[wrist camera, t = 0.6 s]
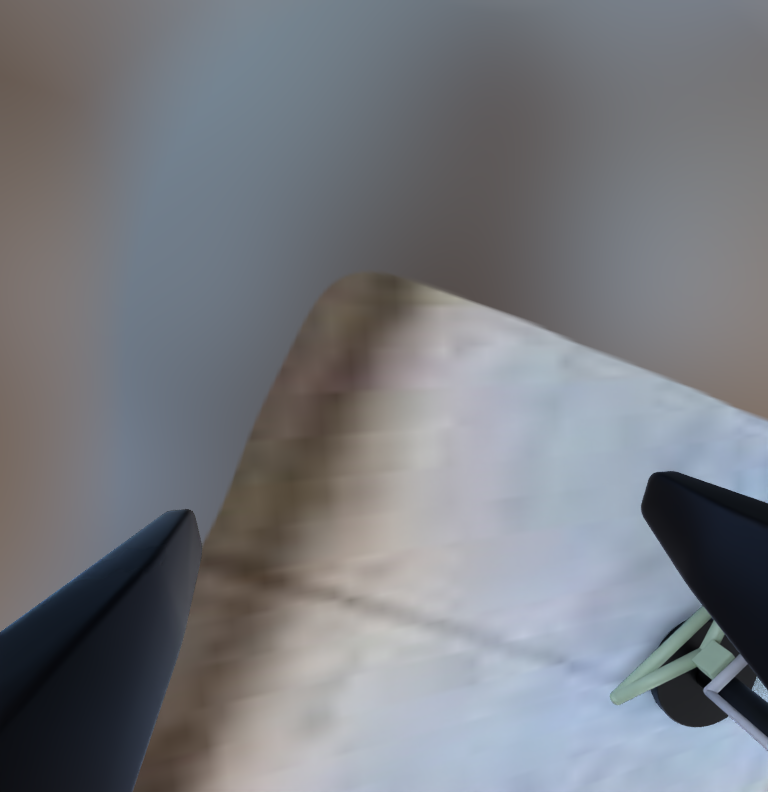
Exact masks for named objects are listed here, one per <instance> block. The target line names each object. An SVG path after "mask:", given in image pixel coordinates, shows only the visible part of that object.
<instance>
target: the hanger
mask: <svg viewBox="0 0 768 792" xmlns="http://www.w3.org/2000/svg"><path fill="white" fill-rule="evenodd" d="M711 618H712V617H711V616H710V614H709V613H708V612H707V610H706V609H705V608H704V607H703V606H702V607H701V608H699V609H698V610H697V611H696V612H695V613H694V614H693V615H692V616H691V617H690V618H689V619H688V620H687V621H686V622H685V623H684V624H683V625H682V626H681V627H679V628H678V629H677V630H676V631H675V632H674V633H673V634H672V635H671V636H670V637H669V638H668V639H667V640H666V641H665V642H664V643H663V644H662V645H661V646H660V647H658V648H657V649H656V650H655V651H654V652H653V653H652V654H651V655H650V656H649V657H648V658H647V659H646V660H645V661H644V662H643V663H642V664H641V665H640V666H639V667H637V668H636V669H635V670H634V671H633V672H632V673H631V674H630V675H629V676H628V677H627V678H626V679H625V680H624V681H623V682H622V683H621V684H620V685H619V686H618V687H616V688H615V689H614V690H613V691H612V692H611V693H610V700H611V701H612V703H614V704H615V705H621V704H623V703H625V702H627V701H629V700H631V699H633V698H635V697H637V696H639V695H641V694H643V693H645V692H647V691H649V690H651V689H653V688H655V687H657V686H659V685H661V684H663V683H665V682H667V681H669V680H671V679H673V678H675V677H677V676H679V675H681V674H683V673H685V672H687V671H690V670H692V669H694V668H696V667H698V668H699V669H700V670H701V671H702V672H703V673H705V674H706V675H707V676H708V677H709V678H710V679H712V681H711V682H710V683H709V684H708V685H707V686H706V687H705V688H704V690H703V691H704V694H705V695H706V696H707V697H708V698H709V699H711V700H712V701H713V702H714V703H715V704H716V705H717V706H718V707H719V708H721V709H722V710H723V711H724V712H725V713H726V714H727V715H728V716H729V717H731V718H732V719H733V720H734V721H735V722H736V723H737V724H738V725H739V726H741V727H742V728H743V729H744V730H745V731H746V732H747V733H748V734H749V735H751V736H752V737H753V738H754V739H755V740H756V741H757V742H758V743H759V744H761V745H762V746H763V747H764V748H765V749H766V750H767V751H768V737H767V736H766V735H765V734H763V733H762V732H761V731H760V730H759V729H758V728H757V727H755V726H754V725H753V724H752V723H751V722H750V721H748V720H747V719H746V718H745V717H744V716H743V715H742V714H740V713H739V712H738V711H737V710H736V709H735V708H733V707H732V706H731V705H730V704H729V703H728V702H727V701H725V700H724V699H723V698H722V697H721V696H720V695H718V694H717V693H718V692H719V691H720V690H721V689H722V688H723V687H725V686H726V685H727V684H728V683H729V682H730V681H731V680H732V679H733V678H734V677H735V676H736V675H737V674H738V673H739V672H740V671H741V670H742V669H743V668H744V667H745V666H746V665H747V662H746V661H745V660H744V658H743V657H742V656H741V655H740V654H739V655H738V656H737V657H736V658H735V657H734V655H733V654H732V653H731V652H730V651H728V650H727V649H725V648H724V647H723V646H721V645H720V643H721V641H722V639H723V637H724V635H725V634H724V632H723V631H722V630H721V629H720V627H719V626H718V625H717V623H716V622H715V621H713V623H712V625H711V627H710V629H709V630H708V632H707V634H706V636H705V638H704V640H703V642H702V644H701V646H700V648H698V649H696V650H694V651H692V652H690V653H688V654H686V655H684V656H682V657H680V658H678V659H676V660H674V661H672V662H670V663H668V664H666V665H664V666H663V667H661V668H659V667H660V666H661V665H663V664H664V663H665V662H666V661H667V660H668V659H669V658H670V657H671V656H672V655H673V654H674V653H675V652H676V651H677V650H678V649H679V648H680V647H681V646H682V645H683V644H685V643H686V642H687V641H688V640H689V639H690V638H691V637H692V636H693V635H694V634H695V633H696V632H697V631H698V630H699V629H700V628H701V627H702V626H703V625H704V624H705V623H706V622H708V621H709V620H710V619H711ZM658 668H659V669H658Z"/></svg>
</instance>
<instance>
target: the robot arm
mask: <svg viewBox="0 0 768 792" xmlns="http://www.w3.org/2000/svg"><path fill="white" fill-rule="evenodd" d="M641 511H642V515H643V517H644V519H645V520H646V522H647V524H648V525H649V527H650V528H651V530H652V531H653V533H654V534H655V536H656V538H657V539H658V541H659V542H660V544H661V545H662V547H663V548H664V550H665V551H666V553H667V555H668V556H669V558H670V559H671V561H672V562H673V564H674V565H675V567H676V569H677V570H678V572H679V573H680V575H681V576H682V578H683V579H684V581H685V582H686V584H687V585H688V587H689V588H690V589H691V591H692V592H693V593H694V595H695V596H696V597H697V599H698V600H699V601H700V603H701V604H702V605H703V607H704V608H705V609H706V610H707V612H708V613H709V614H710V616H711V617H712V618H713V620H714V621H715V622H716V623H717V625H718V626H719V627H720V629H721V630H722V631H723V632H724V634H725V635H726V636H727V638H728V639H729V640H730V642H731V643H732V644H733V645H734V647H735V648H736V649H737V651H738V652H739V653H740V655H741V656H742V657H743V658H744V660H745V661H746V662H747V664H748V665H749V666H750V668H751V669H752V670H753V671H754V673H755V674H756V675H757V677H758V678H759V679H760V681H761V682H762V683H763V684H764V686H765V687H766V688H767V690H768V503H765V502H762V501H759V500H757V499H754V498H751V497H748V496H745V495H742V494H739V493H736V492H733V491H731V490H728V489H725V488H722V487H719V486H716V485H713V484H710V483H707V482H705V481H702V480H699V479H696V478H693V477H690V476H687V475H684V474H682V473H679V472H675V471H666V472H656V473H653V474H652V475H651V476H650V478H649V480H648V483H647V487H646V490H645V493H644V497H643V500H642V504H641ZM201 557H202V544H201V539H200V535H199V531H198V526H197V523H196V518H195V515H194V513H193V511H191V510H189V509H185V510H173V511H167V512H166V513H164V514H163V515H161V516H160V517H158V518H157V519H156V520H154V521H153V522H152V523H150V524H149V525H147V526H146V527H145V528H144V529H142V530H140V531H139V532H138V533H136V534H135V535H134V536H132V537H131V538H129V539H128V540H127V541H125V542H124V543H123V544H121V545H120V546H118V547H117V548H116V549H114V550H113V551H111V552H110V553H109V554H107V555H106V556H105V557H103V558H102V559H100V560H99V561H98V562H97V563H95V564H94V565H92V566H91V567H89V568H88V569H87V570H85V571H84V572H83V573H81V574H80V575H78V576H77V577H76V578H74V579H73V580H71V581H70V582H69V583H67V584H66V585H65V586H63V587H62V588H61V589H59V590H58V591H56V592H55V593H54V594H52V595H51V596H49V597H48V598H47V599H45V600H44V601H42V602H41V603H40V604H38V605H37V606H36V607H34V608H33V609H31V610H30V611H29V612H27V613H26V614H24V615H23V616H22V617H20V618H19V619H18V620H16V621H15V622H13V623H12V624H11V625H9V626H8V627H7V628H5V629H4V630H2V631H1V632H0V792H133V789H134V786H135V783H136V780H137V777H138V774H139V771H140V768H141V765H142V762H143V759H144V756H145V753H146V750H147V747H148V744H149V741H150V738H151V735H152V732H153V729H154V726H155V723H156V720H157V717H158V714H159V711H160V708H161V705H162V702H163V699H164V696H165V694H166V691H167V688H168V685H169V682H170V679H171V676H172V673H173V670H174V667H175V664H176V661H177V658H178V655H179V651H180V648H181V645H182V642H183V638H184V633H185V629H186V625H187V621H188V616H189V612H190V607H191V603H192V598H193V593H194V589H195V584H196V580H197V575H198V571H199V566H200V562H201Z"/></svg>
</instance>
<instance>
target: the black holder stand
mask: <svg viewBox="0 0 768 792" xmlns="http://www.w3.org/2000/svg"><path fill="white" fill-rule="evenodd" d="M686 621H687V620H686ZM686 621H684V622H683V623H681V624H680V625H678V626H677V627H675V628H674V629H673V630H672V631H671V632H670V633H669V634H668V635H667V636H666V637H665V638H664V640H663V641H662V642H661V644H660V646H661V645H662V644H663V643H664V642H665V641H666V640H667V639H668V638H669V637H670V636H671V635H672V634H673V633H674V632H675V631H676V630H677V629H678V628H679V627H681V626H682V625H683V624H684V623H685V622H686ZM713 621H714V620H713V618H711V619H710V620H709V621H708V622H706V623H705V624H704V625H703V626H702V627H701V628H700V629H699V630H698V631H697V632H696V633H695V634H694V635H693V636H692V637H691V638H690V639H689V640H688V641H687V642H686V643H685V644H683V645H682V646H681V647H680V648H679V649H678V650H677V651H676V652H675V653H674V654H673V655H672V656H671V657H670V658H669V659H668V660H667V661H666V662H665V663H664V664H663V665H661V666H660V667H659V668H661V667H663V666H664V665H666V664H668V663H670V662H672V661H674V660H676V659H678V658H680V657H682V656H684V655H686V654H688V653H690V652H692V651H694V650H696V649H698V648H700V646H701V644H702V642H703V640H704V638H705V636H706V634H707V632H708V630H709V629H710V627H711V625H712V623H713ZM720 645H721V646H723V647H724V648H725V649H727V650H728V651H730V652H731V653H732V654H733V655H734V657H735V658H736V657H737V656H738V655H739V654H740V653H739V652H738V651H737V649H736V648H735V647H734V645H733V644H732V643H731V642H730V640H729V639H728V638H727V636H726V635H724V637H723V639H722V641H721V643H720ZM660 646H659V647H660ZM659 668H658V669H659ZM756 676H757V675H756V674H755V673H754V671H753V670H752V669H751V668H750V666H749V665H748V664H747V665H746V666H745V667H744V668H743V669H742V670H741V671H740V672H739V673H738V674H737V675H736V676H735V677H734V678H733V679H732V680H731V681H730V682H729V683H728V684H727V685H726V686H725V687H723V688H722V689H721V690H720V691H719V692H718V693H717V694H718V695H720V696H721V697H722V698H723V699H724V700H725V701H727V702H728V703H729V704H730V705H731V706H732V707H733V708H735V709H736V710H737V711H738V712H739V713H740V714H742V715H743V716H744V717H745V718H746V719H747V720H748V721H750V722H751V723H752V724H753V725H754V726H755V727H757V728H758V729H759V730H760V731H761V732H762V733H763V734H765V735H766V736H767V737H768V702H766V701H765V700H764V699H763V698H761V697H760V696H759V695H757V694H756V693H755V692H754V691H752V690H751V689H752V687H753V685H754V682H755V680H756ZM711 681H712V679H710V678H709V677H708V676H707V675H706V674H705V673H703V672H702V671H701V670H700V669H699V668H698V667H696V668H694V669H692V670H690V671H687V672H685V673H683V674H681V675H679V676H677V677H675V678H673V679H671V680H669V681H667V682H665V683H663V684H661V685H659V686H657V687H655V688H653V689H651V691H652V694H653V697H654V699H655V701H656V703H657V704H658V705H659V707H660V708H661V709H662V710H663V711H664V712H665V713H666V714H667V715H668V716H669V717H670V718H671V719H672V720H674V721H675V722H677V723H679V724H681V725H684V726H688V727H704V726H709V725H713V724H715V723H717V722H720V721H722V720H723V719H725V718H727V717H728V715H727V714H726V713H725V712H724V711H723V710H722V709H721V708H719V707H718V706H717V705H716V704H715V703H714V702H713V701H712V700H711V699H709V698H708V697H707V696H706V695H705V694H704V691H703V690H704V688H705V687H706V686H707V685H708V684H709V683H710V682H711Z"/></svg>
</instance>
